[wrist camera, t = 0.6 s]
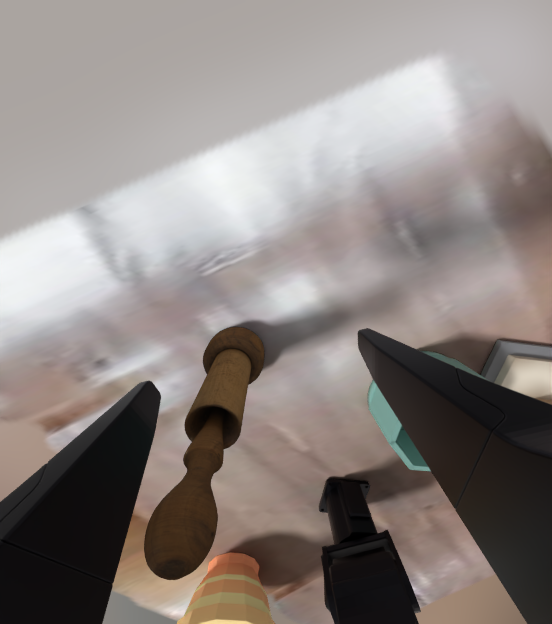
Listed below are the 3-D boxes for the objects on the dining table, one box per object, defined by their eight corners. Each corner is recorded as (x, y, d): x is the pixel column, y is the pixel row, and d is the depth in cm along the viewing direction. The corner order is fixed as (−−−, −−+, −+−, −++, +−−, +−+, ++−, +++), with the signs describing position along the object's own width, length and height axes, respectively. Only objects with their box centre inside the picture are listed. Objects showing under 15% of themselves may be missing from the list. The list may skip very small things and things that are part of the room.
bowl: (440, 432, 31) (479, 476, 25) (357, 425, 30) (377, 468, 24) (475, 356, 27) (530, 386, 21) (381, 345, 26) (413, 373, 21)
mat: (553, 457, 32) (558, 461, 32) (445, 448, 31) (448, 452, 31) (623, 355, 27) (631, 357, 27) (497, 339, 26) (502, 341, 26)
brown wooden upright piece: (232, 315, 24) (144, 487, 7) (275, 349, 26) (288, 562, 9) (196, 355, 26) (52, 580, 9) (240, 386, 27) (189, 631, 10)
